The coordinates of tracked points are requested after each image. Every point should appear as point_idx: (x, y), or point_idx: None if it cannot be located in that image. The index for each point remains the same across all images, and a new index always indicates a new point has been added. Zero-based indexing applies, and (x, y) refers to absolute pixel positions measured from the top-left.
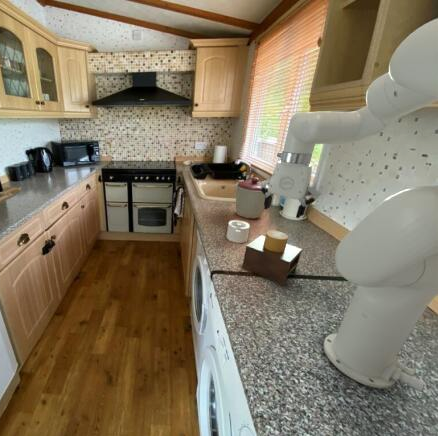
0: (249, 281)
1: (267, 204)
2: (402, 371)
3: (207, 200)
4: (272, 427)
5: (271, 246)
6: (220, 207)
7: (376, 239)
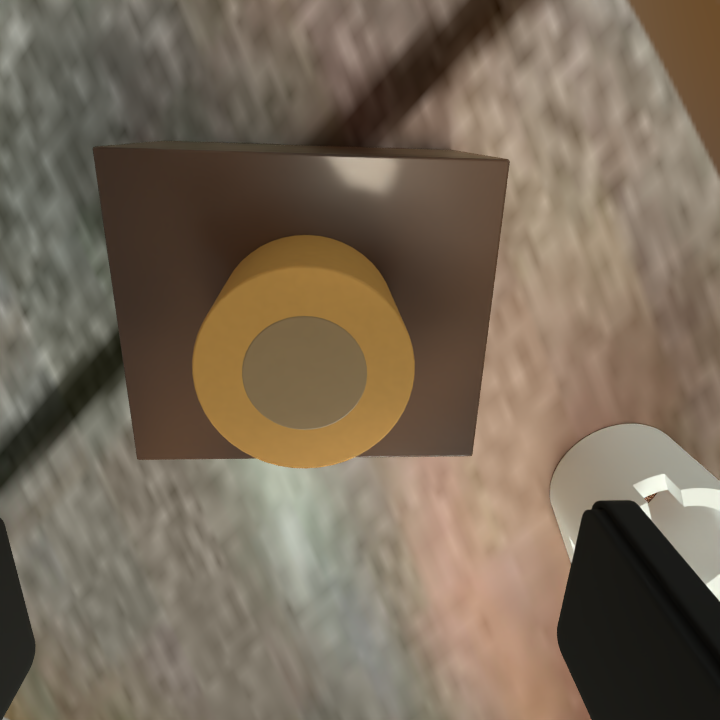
0: (342, 9)
1: (642, 586)
2: None
3: None
4: None
5: (303, 244)
6: None
7: None
